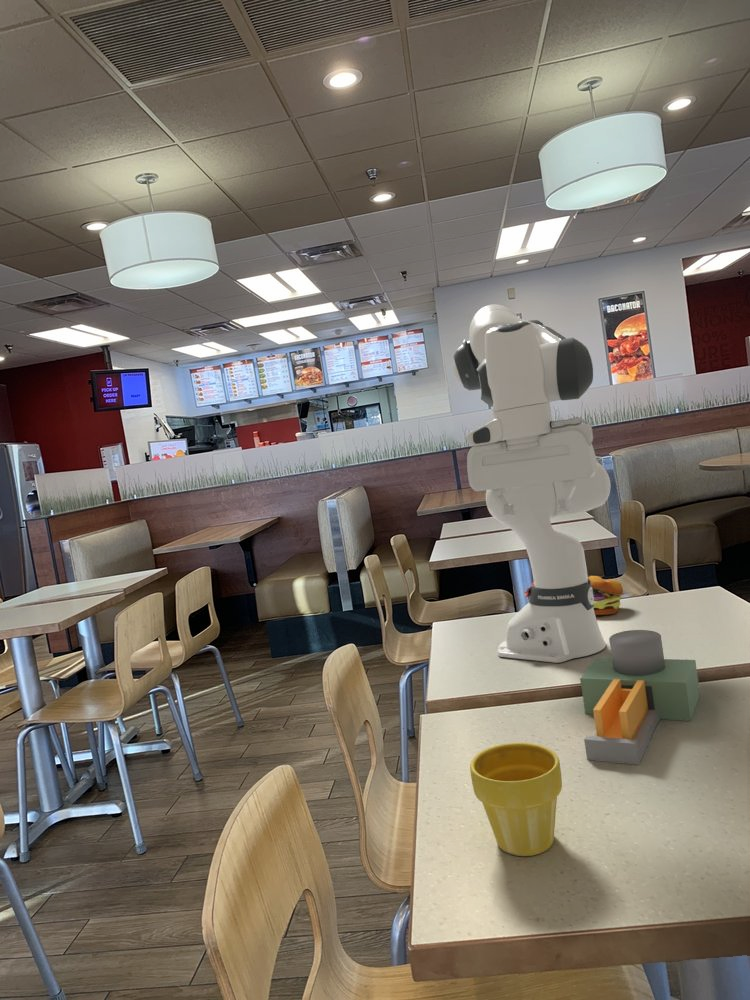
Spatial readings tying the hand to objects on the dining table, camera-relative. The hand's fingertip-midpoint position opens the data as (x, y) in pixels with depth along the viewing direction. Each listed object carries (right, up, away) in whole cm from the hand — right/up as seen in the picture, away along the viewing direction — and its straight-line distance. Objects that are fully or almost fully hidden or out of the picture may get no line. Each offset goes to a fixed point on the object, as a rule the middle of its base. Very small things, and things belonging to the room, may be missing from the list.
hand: (536, 513), depth 110 cm
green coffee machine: (+14, -33, -3) cm, 36 cm away
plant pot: (-8, -38, -28) cm, 48 cm away
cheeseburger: (+30, -26, +60) cm, 72 cm away
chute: (+12, -32, -6) cm, 34 cm away
